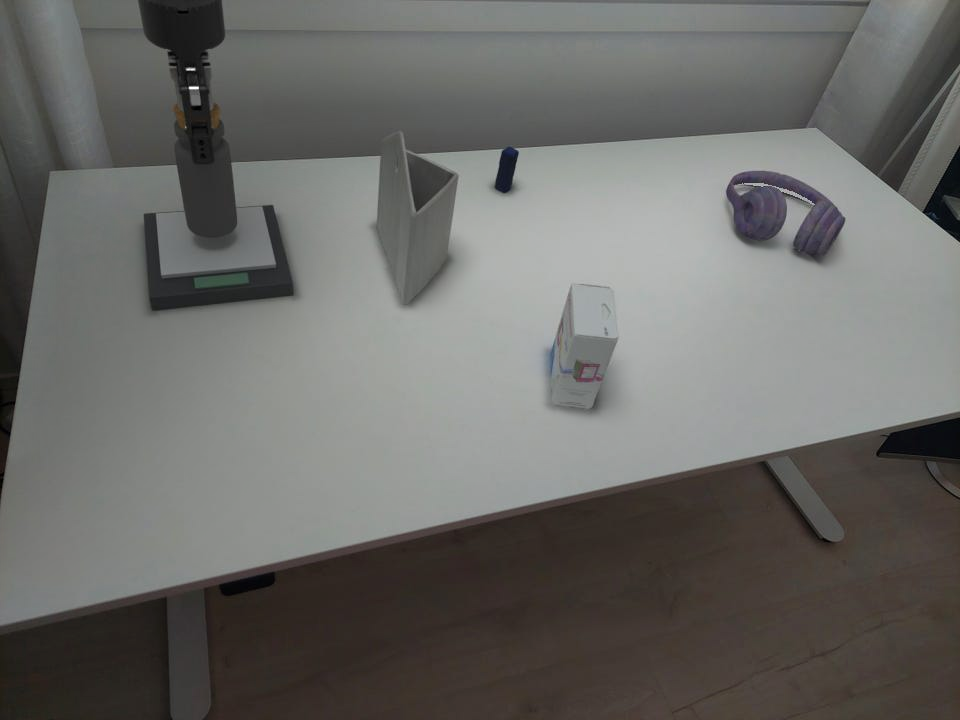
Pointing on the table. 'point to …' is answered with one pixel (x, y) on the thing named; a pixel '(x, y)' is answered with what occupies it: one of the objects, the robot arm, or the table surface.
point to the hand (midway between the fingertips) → (201, 146)
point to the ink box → (583, 345)
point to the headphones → (783, 211)
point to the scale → (215, 261)
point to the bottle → (206, 181)
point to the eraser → (506, 169)
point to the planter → (413, 214)
